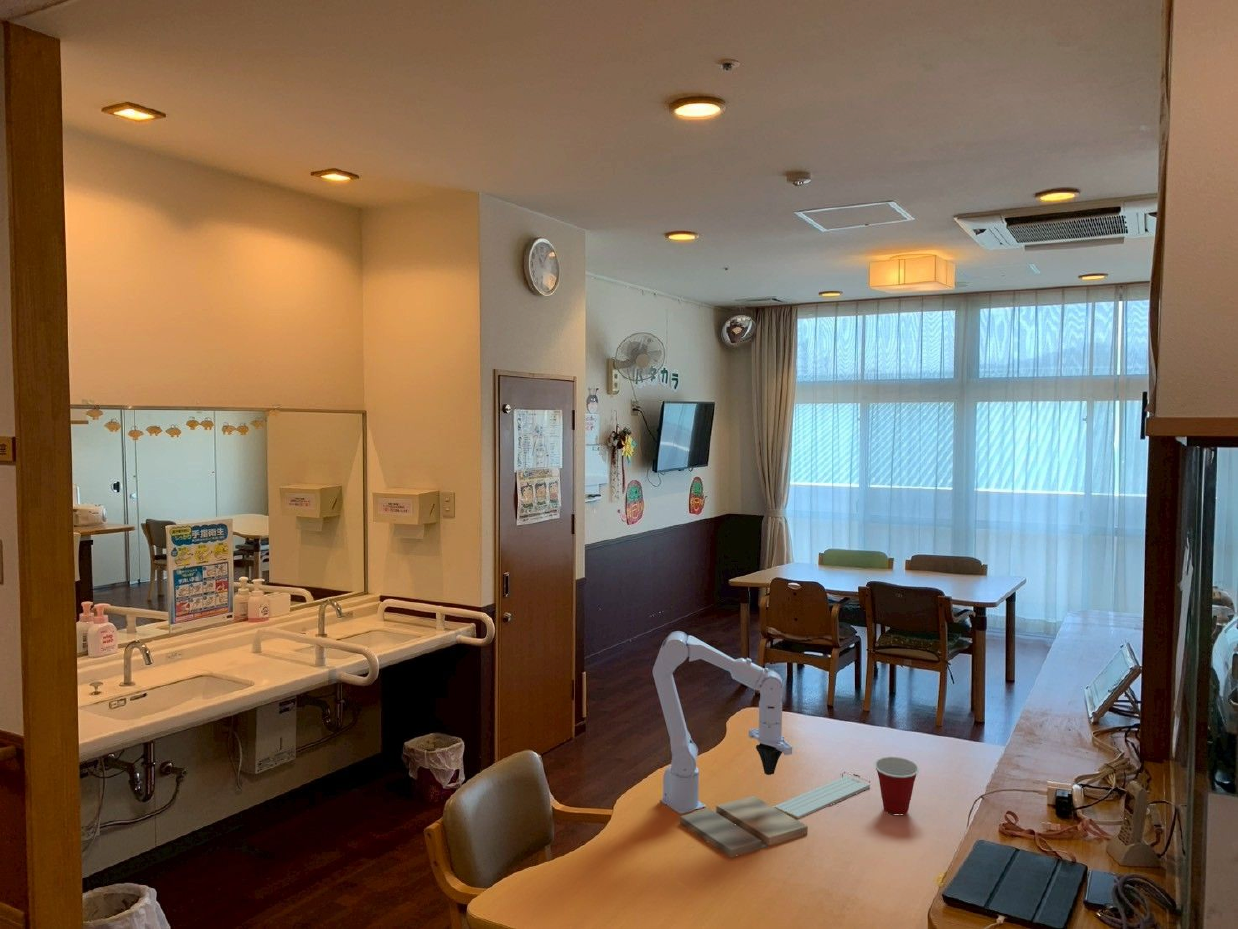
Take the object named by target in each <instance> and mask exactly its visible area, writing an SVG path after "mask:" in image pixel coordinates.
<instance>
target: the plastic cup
mask: <svg viewBox="0 0 1238 929" xmlns="http://www.w3.org/2000/svg"><path fill="white" fill-rule="evenodd" d="M874 767H875V770H876V771H877V777H878V781H879V788H880V795H881V798H882V800H881V801H882V806H883V809H884V810H885V811H884V810H883V811H884V812H886V813H887V812H888V813H887V814H889V813H890V814H889V815H892V814H905V815H907V814H908V811H909V808H910V803H911V800H912V795H913V791H914V790H913V789H914V785H915V781H916V777H917V774H918V773H919V771H920V767H919V765H918V764H917V763H915V762H914V761H912V760H910V759H908V758H903V757H899V756H886V757H885V756H884V757H880V758H878V759H877V760H875V761H874ZM906 813H907V814H906Z"/></svg>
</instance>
